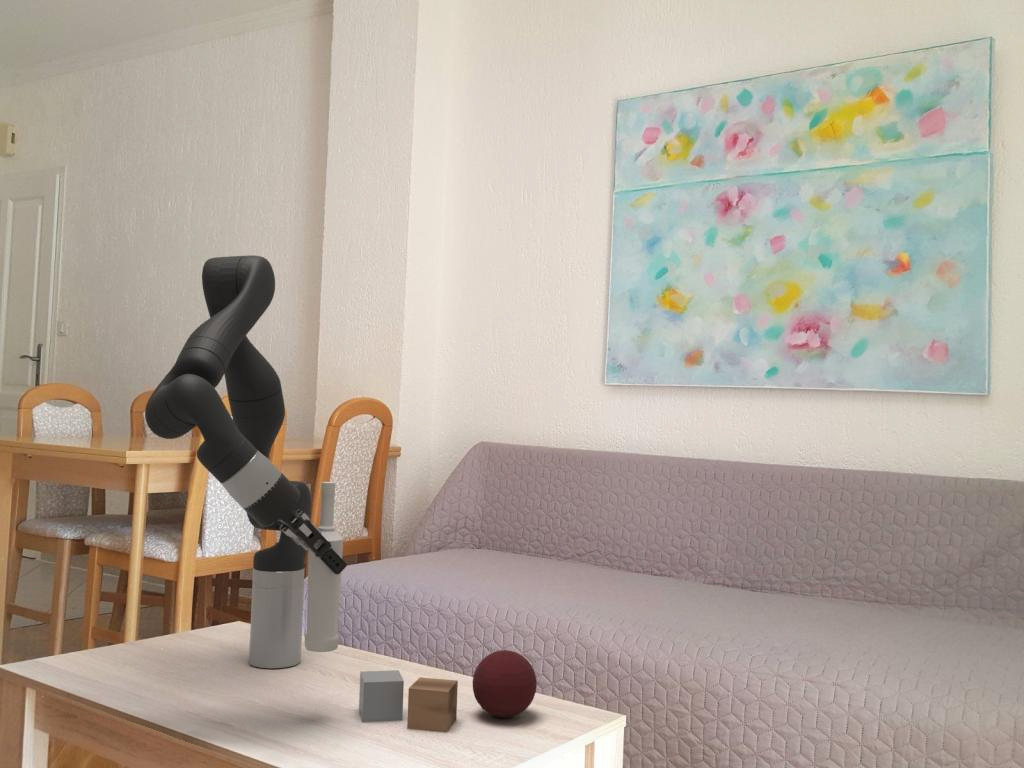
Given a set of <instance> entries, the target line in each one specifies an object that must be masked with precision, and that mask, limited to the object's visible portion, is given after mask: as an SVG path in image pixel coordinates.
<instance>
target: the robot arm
mask: <svg viewBox="0 0 1024 768" xmlns="http://www.w3.org/2000/svg"><path fill="white" fill-rule="evenodd" d="M201 285H202V290H203V296H204V300H205V304H206V308H207V312H208V315H209V318H208V319H206V320H205V321H203V322H202V323H201V324H200V325H199V326H198V327H197V328H195V329H194V330H193V332H192V333H190V335H189V337H188V338H187V340H186V341H185V343H184V344H183V347H182V349H181V351H180V353H179V354H178V356H177V359H176V361H175V363H174V365H173V366H172V367H171V369H170V370H169V371H168V373H167V374H165V376H163V377H164V378H162V380H161V381H160V382H159V383H158V385H157V386H156V388H155V389H154V391H153V392H152V393H151V395H150V396H149V398H148V400H147V402H146V405H145V409H144V417H145V422H146V424H147V427H148V429H149V430H150V431H151V432H152V433H153V434H154V435H156V436H157V437H159V438H161V439H166V440H167V439H168V440H174V439H179V438H181V437H183V436H184V435H186V434H188V433H189V432H190V431H192V430H193V429H195V428H196V427H197V428H198V430H199V432H200V434H201V435H202V438H203V442H201V444H200V445H199V447H198V449H197V452H196V458H197V459H198V461H199V462H200V463H201V465H202V466H203V467H204V468H205V470H207V471H208V472H209V473H210V474H211V475H212V476H213V477H214V478H215V479H216V480H217V481H218V482H219V483H220V484H221V486H222V487H223V488H224V489H225V491H226V492H227V493H228V494H229V496H230V497H231V499H233V500H234V501H235V502H236V503H237V504H238V505H239V506H240V507H241V508H242V509H243V510H244V511H245V512H246V515H247V519H248V521H249V522H250V524H251V525H252V526H253V528H256V529H260V530H268V531H277V532H278V531H280V534H279V539H278V542H277V543H275V544H274V545H272V546H269V547H267V548H263V549H261V550H257V551H256V552H255V553H254V554H253V561H252V567H253V568H252V580H251V581H252V585H251V586H252V587H251V605H250V606H251V612H250V630H249V631H250V637H249V659H248V664H249V665H250V666H252V667H255V668H260V669H283V668H290V667H294V666H297V665H299V664H300V663H301V661H302V639H303V615H304V591H305V570H306V569H305V566H306V559H307V554H308V552H309V549H310V550H311V551H312V552H313V553H314V554H315V556H316V557H317V558H319V559H321V560H322V561H323V562H324V563H325V564H326V565H327V566H328V567H329V568H330V569H331V570H332V571H333V572H334V573H335V574H337V575H338V574H340V573H341V574H342V572H343V571H344V570H345V568H347V562H346V561H345V560H344V559H343V557H342V558H341V557H340V556H339V555H338V554H337V553H336V552H335V551H334V550H333V549H332V547H331V546H332V545H331V543H330V542H329V541H327V540H326V539H325V538H324V537H323V536H322V533H321V531H320V530H319V529H318V527H317V526H316V525H315V524H314V523H313V522H312V521H311V518H312V517H311V515H312V495H311V494H312V493H311V491H310V488H309V486H308V485H307V484H306V483H305V482H303V481H298V480H289V479H288V478H287V477H286V476H285V474H284V473H283V472H281V470H280V469H279V468H278V467H277V466H276V465H275V464H274V463H273V462H272V460H270V453H271V449H272V447H273V445H274V442H275V441H276V438H277V437H278V435H279V432H280V430H281V428H282V426H283V423H284V422H285V421H284V420H285V417H286V407H285V400H284V393H283V388H282V383H281V382H282V381H281V380H280V377H279V375H278V373H277V372H276V370H275V368H274V367H273V366H272V365H271V363H269V361H268V360H267V359H266V358H265V357H264V356H263V354H262V353H261V352H260V351H259V349H257V348H256V346H255V345H254V344H253V343H252V342H251V340H250V339H249V338H248V336H247V335H248V333H249V332H251V330H252V328H253V327H254V326H255V325H256V324H257V322H258V321H259V320H260V319H261V317H262V316H263V315H264V314H265V312H266V311H267V310H268V308H269V307H270V305H271V303H272V301H273V299H274V296H275V291H276V277H275V273H274V270H273V266H272V264H271V262H270V261H269V260H268V259H267V258H266V257H263V256H261V255H252V254H251V255H234V256H232V255H231V256H220V257H217V256H216V257H212V258H208V259H207V260H206V261H205V262H204V264H203V265H202V272H201ZM223 377H224V380H225V386H226V392H227V393H226V394H227V398H228V404H229V408H230V412H231V414H230V412H229V410H228V409H227V407H226V405H225V403H224V401H223V399H222V398H221V395H220V394H219V393H218V391H217V390H216V388H217V386H219V384H220V383H221V381H222V379H223ZM318 540H320V541H321V542H322V543H323V544H322V545H321V546H320V547H319V548H318V549H317V550H316V548H315V547H314V544H315V543H316V542H317V541H318Z"/></svg>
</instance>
